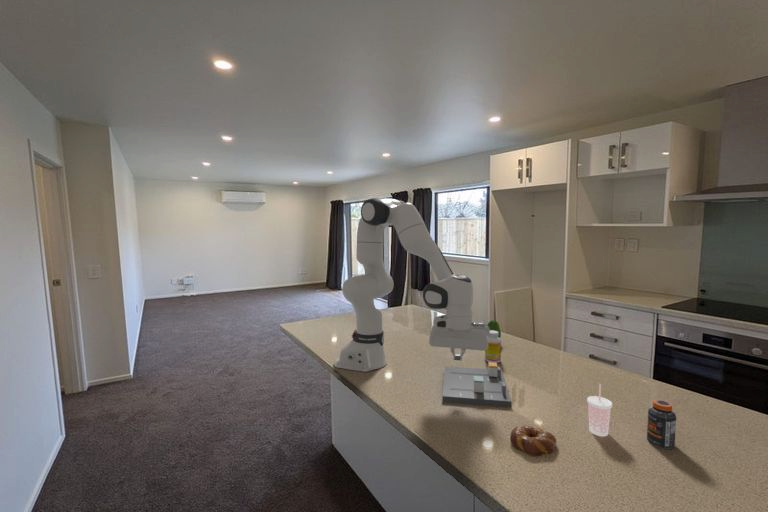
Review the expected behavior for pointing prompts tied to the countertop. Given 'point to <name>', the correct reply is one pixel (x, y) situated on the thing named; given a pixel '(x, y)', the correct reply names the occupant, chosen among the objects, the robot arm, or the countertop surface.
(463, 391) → the console
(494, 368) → the fader
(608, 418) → the beverage cup
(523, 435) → the pretzel
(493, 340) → the supplement bottle
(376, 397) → the countertop surface
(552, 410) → the countertop surface
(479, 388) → the fader
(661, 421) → the pill bottle
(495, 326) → the avocado
